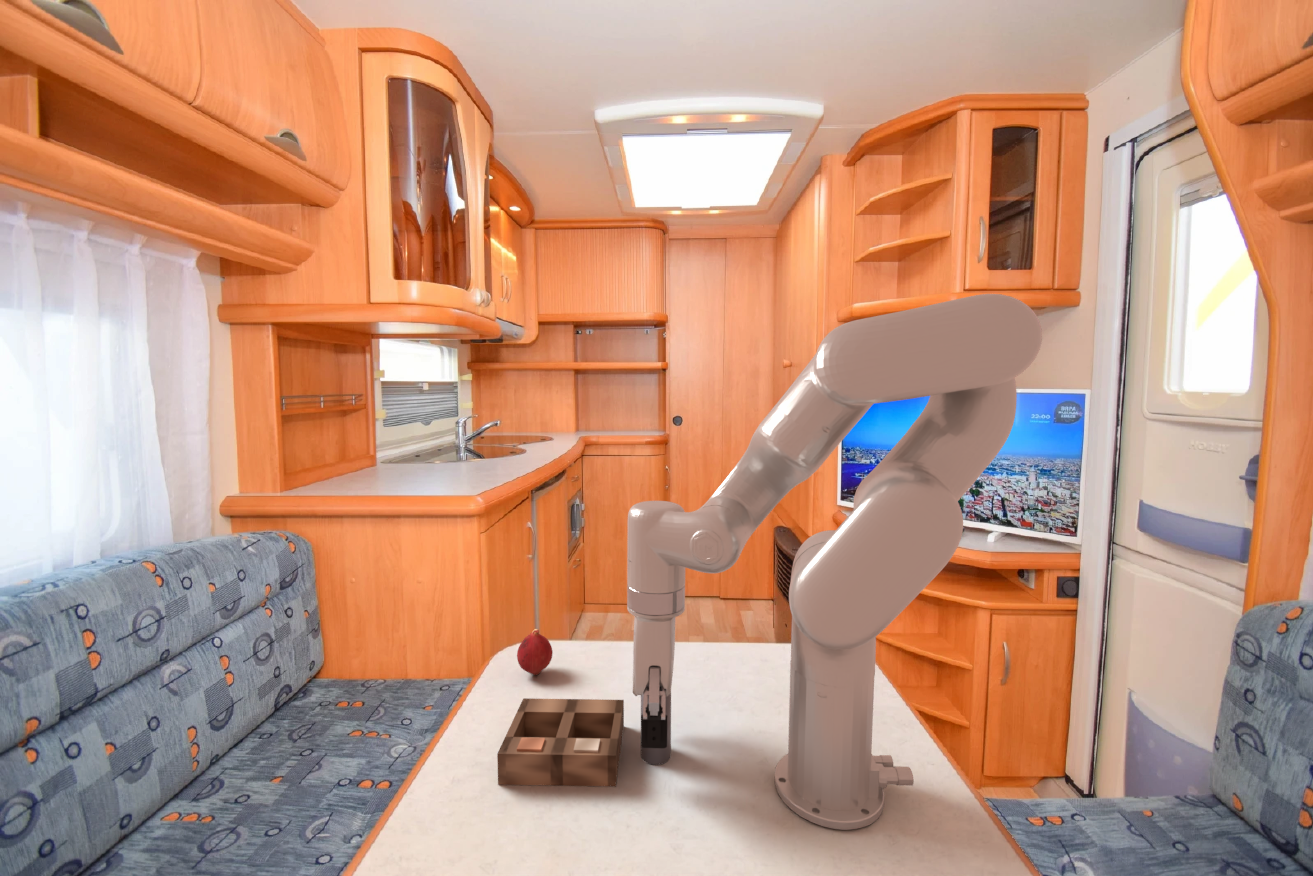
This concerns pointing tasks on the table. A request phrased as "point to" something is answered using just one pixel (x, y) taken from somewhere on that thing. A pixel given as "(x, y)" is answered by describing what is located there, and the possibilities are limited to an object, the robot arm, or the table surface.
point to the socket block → (563, 743)
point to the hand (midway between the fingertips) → (654, 722)
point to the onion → (534, 653)
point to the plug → (663, 754)
